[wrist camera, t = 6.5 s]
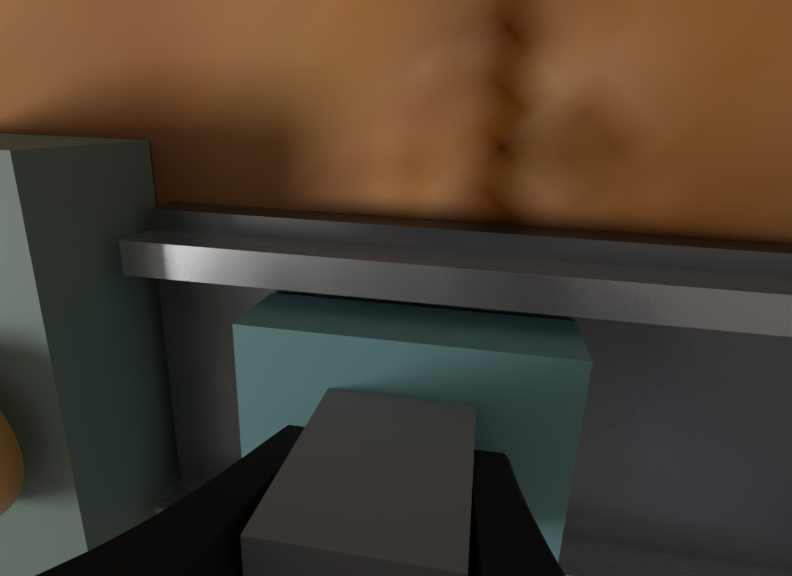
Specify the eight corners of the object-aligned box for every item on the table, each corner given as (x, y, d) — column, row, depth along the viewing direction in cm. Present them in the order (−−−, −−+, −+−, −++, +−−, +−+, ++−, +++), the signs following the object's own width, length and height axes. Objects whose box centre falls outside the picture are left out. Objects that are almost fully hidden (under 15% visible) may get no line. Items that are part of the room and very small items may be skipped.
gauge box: (148, 140, 13) (10, 150, 9) (191, 528, 17) (106, 646, 13) (-26, 131, 14) (-220, 137, 10) (53, 504, 18) (-65, 610, 14)
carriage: (576, 321, 11) (657, 519, 6) (544, 520, 13) (584, 822, 8) (271, 293, 12) (90, 438, 7) (279, 480, 14) (140, 719, 9)
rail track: (1227, 273, 10) (1416, 314, 8) (1029, 621, 13) (1131, 717, 11) (173, 201, 13) (115, 217, 11) (202, 492, 16) (160, 546, 14)
